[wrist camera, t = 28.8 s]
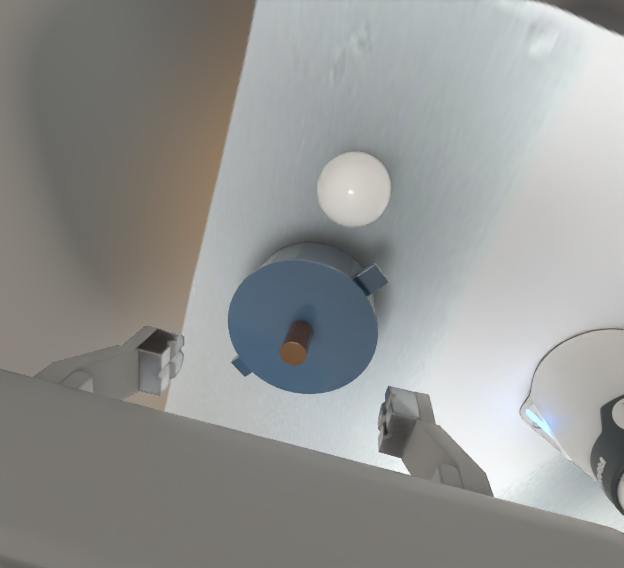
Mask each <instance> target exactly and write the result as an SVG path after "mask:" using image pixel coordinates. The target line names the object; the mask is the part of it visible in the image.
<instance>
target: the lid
mask: <svg viewBox="0 0 624 568" xmlns="http://www.w3.org/2000/svg"><path fill="white" fill-rule="evenodd" d="M228 329H229V334H230V338H231V341H232V344H233V346H234V348H235V350H236V352H237V354H238V356H239V357H240V359H241V360H242V361H243V363H244V364H245V365H246V366H247V367H248V368H249V369H250V370H251V371H252V372H253V373H254V374H255V375H257V376H258V377H259V378H261V379H262V380H264V381H265V382H267V383H269V384H271V385H273V386H275V387H277V388H280V389H283V390H286V391H290V392H294V393H302V394H317V393H324V392H329V391H333V390H336V389H339V388H341V387H343V386H345V385H347V384H348V383H350V382H352V381H353V380H354V379H356V378H357V377H358V376H359V375H360V374H361V373H362V372H363V371H364V370H365V369H366V367H367V366H368V364H369V363H370V361H371V359H372V357H373V355H374V353H375V349H376V345H377V339H378V324H377V318H376V314H375V311H374V308H373V305H372V303H371V301H370V299H369V297H368V296H367V294H366V293H365V292H364V290H363V289H362V288H361V287H360V285H359V284H358V283H357V282H356V281H355V280H354V279H352V278H351V277H350V276H349V275H348V274H346V273H345V272H343V271H341V270H340V269H338V268H336V267H334V266H332V265H330V264H327V263H324V262H321V261H318V260H313V259H307V258H287V259H281V260H277V261H274V262H271V263H268V264H266V265H264V266H262V267H260V268H258V269H257V270H255V271H254V272H252V273H251V274H250V275H249V276H248V277H247V278H246V279H245V280H244V281H243V282H242V283H241V285H240V286H239V287H238V289H237V290H236V292H235V294H234V296H233V298H232V301H231V303H230V308H229V313H228Z"/></svg>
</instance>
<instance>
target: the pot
mask: <svg viewBox="0 0 624 568" xmlns="http://www.w3.org/2000/svg"><path fill="white" fill-rule="evenodd" d="M287 258H307V259H313V260H318V261H321V262H324V263H327V264H330V265H332V266H334V267H336V268H338V269H340V270H341V271H343V272H345V273H346V274H348V275H349V276H350V277H351V278H352V279H354V280H355V281H356V282H357V283H358V284H359V285H360V287H361V288H362V289H363V290H364V292H365V293H366V294H367V296H368V297H369V299H370V301H371V303H372V305H373V308H374V296H373V293H374V292H375V291H377V290H378V289H380V288H381V287H383V286H384V285H386V284H387V283H389V281H388V278H387V277H386V275H385V274H384V273H383V272H382V270H381V269H380V268H379V266H378V265H377V264H376V263H375V262H372V263H371V264H369V265H368V266H366V267H365V268H364V269H362V268H361V266H360V265H359V264H358V263H357V262H356V261H355V260H354V258H352V257H351V256H349V255H348V254H346V253H345V252H343V251H342V250H339V249H337V248H335V247H333V246H331V245H327V244H322V243H313V242H304V243H299V244H294V245H291V246H288V247H285V248H282V249H280V250H279V251H278V252H277V253H275V254H274V255H273V256H271V257H270V258H269V259H268V260H266V261H265V262H264V263H263V264H262V266H264V265H266V264H268V263H271V262H274V261H277V260H281V259H287ZM262 266H261V267H262ZM231 363H232V364H233V365H234V366H235V367H236V368H237V369H238V370H239V371H240V372H241V373H242V374H243V376H244V377H245V376H247V375H249V374H250V373H252V371H251V370H250V369H249V368H248V367H247V366H246V365H245V364H244V363H243V361H242V360H241V359H240V357H239V356H238V355H237V356H236V357H234V359H233V360H232V362H231Z"/></svg>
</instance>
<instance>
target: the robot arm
mask: <svg viewBox="0 0 624 568" xmlns="http://www.w3.org/2000/svg"><path fill="white" fill-rule="evenodd" d="M183 346H184V336H183V335H180V334H176V333H173V332H169V331H165V330H162V329H158V328H154V327H150V326H145V327H143V328H142V329H141V330H140V331H139V332H137V333H136V334H135V335H134V336H133V337H131V338H130V339H129V340H128V341H127V342H125V343H124V344H123V345H122V346H119V345H116V346H113V347H109V348H105V349H101V350H98V351H94V352H91V353H86V354H83V355H79V356H75V357H72V358H68V359H64V360H60V361H57V362H54V363H52V364H50V365H49V366H48V367H46V368H45V369H43V370H42V371H41V372H39V373H38V374H36V375H35V376H34V377H30V376H26V375H22V374H18V373H14V372H10V371H7V370H2V369H0V568H624V533H622V532H620V531H618V530H616V529H613V528H610V527H607V526H603V525H599V524H596V523H592V522H588V521H584V520H580V519H576V518H572V517H569V516H565V515H561V514H557V513H553V512H549V511H545V510H541V509H537V508H534V507H530V506H526V505H522V504H518V503H514V502H510V501H506V500H503V499H499V498H495V497H494V496H493V493H492V490H491V487H490V484H489V481H488V478H487V475H486V473H485V472H484V471H483V470H482V469H481V468H480V467H479V466H478V465H477V464H476V463H475V462H474V461H473V460H472V459H471V458H470V457H469V456H468V454H467V453H466V452H465V451H464V450H463V449H462V448H461V447H460V446H459V445H458V444H457V443H456V442H455V441H454V440H453V439H452V438H451V437H450V436H449V435H448V434H447V433H446V432H445V431H444V430H443V429H442V427H441V426H439V425H436V423H435V419H434V414H433V410H432V406H431V401H430V397H429V395H428V394H423V393H419V392H412V391H408V390H404V389H400V388H395V387H391V386H388V388H387V390H386V393H385V402H384V403H382V405H381V409H380V413H379V418H378V429H379V431H380V434H379V437H378V445H379V452H381V453H384V454H388V455H391V456H395V457H398V458H402V461H403V463H404V464H405V466H406V468H407V469H408V471H409V472H410V474H411V475H407V474H403V473H399V472H395V471H391V470H388V469H384V468H380V467H376V466H372V465H368V464H365V463H361V462H357V461H353V460H349V459H345V458H341V457H338V456H334V455H330V454H326V453H322V452H318V451H315V450H311V449H307V448H303V447H299V446H295V445H291V444H288V443H284V442H280V441H276V440H272V439H268V438H264V437H261V436H257V435H253V434H249V433H245V432H241V431H238V430H234V429H230V428H226V427H222V426H218V425H214V424H211V423H207V422H203V421H199V420H195V419H191V418H188V417H184V416H180V415H176V414H172V413H168V412H165V411H160V410H156V409H153V408H149V407H145V406H141V405H138V404H133V403H130V402H126V401H122V400H123V399H125V398H127V397H129V396H131V395H133V394H135V393H137V392H138V391H142V392H146V393H151V394H155V395H161V394H162V393H163V392H164V390H165V389H166V388H167V387H168V385H169V380H170V379H172V378H174V377H176V375H177V374H178V373H179V371H180V369H181V367H182V363H183V356H184V354H183V352H182V351H181V348H182V347H183ZM520 415H521V417H522V418H523V420H524V421H525V422H526V423H527V424H528V425H529V426H530V427H532V428H533V429H534V430H535V431H536V432H538V433H539V434H540V435H541V436H542V437H543V438H545V439H546V440H547V441H548V442H549V443H551V444H552V445H553V446H554V447H555V448H556V449H558V450H559V451H560V452H561V453H562V454H563V455H564V456H565V457H566V459H567V460H569V461H572V462H573V463H574V464H575V465H577V466H578V467H579V468H580V469H581V470H583V471H584V472H585V473H586V474H587V475H588V476H590V477H591V478H592V479H593V480H595V481H596V482H599V484H600V487H601V488H602V490H603V491H604V493H605V494H606V496H607V497H608V498H609V500H610V501H611V502H612V503H613V504H614V505H615V507H616V508H617V509H618V510H619V511H620V512H621V513H622V514H623V515H624V330H617V329H609V330H598V331H593V332H588V333H585V334H582V335H579V336H576V337H574V338H571V339H569V340H567V341H566V342H564V343H562V344H560V345H559V346H558V347H556V348H555V349H554V350H552V351H551V352H550V353H549V354H548V355H547V356H546V357H545V358H544V359H543V360H542V362H541V363H540V365H539V366H538V368H537V370H536V372H535V374H534V377H533V381H532V388H531V393H530V396H529V398H528V399H527V400H526V402H525V403H524V405H523V406H522V408H521V410H520ZM539 419H540V420H539Z"/></svg>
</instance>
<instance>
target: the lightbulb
mask: <svg viewBox="0 0 624 568" xmlns="http://www.w3.org/2000/svg"><path fill="white" fill-rule="evenodd" d="M390 195H391V182H390V178H389V175H388V172H387V170H386V169H385V167H384V166H383V164H382V163H381V162H380V161H379V160H378V159H376V158H375V157H373V156H371V155H369V154H367V153H363V152H347V153H343V154H341V155H338V156H337V157H335V158H333V159H332V160H331V161H330V162H329V163H328V164H327V165H326V166H325V167H324V169H323V170H322V172H321V174H320V177H319V180H318V184H317V197H318V202H319V204H320V207H321V209H322V211H323V212H324V214H325V215H326V216H327V217H328V218H329V219H330V220H332V221H333V222H335V223H336V224H338V225H341V226H344V227H351V228H355V227H362V226H365V225H368V224H370V223H372V222H373V221H375V220H376V219H377V218H378V217H379V216H380V215H381V214H382V213H383V212H384V210H385V209H386V207H387V205H388V202H389V199H390Z"/></svg>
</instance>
